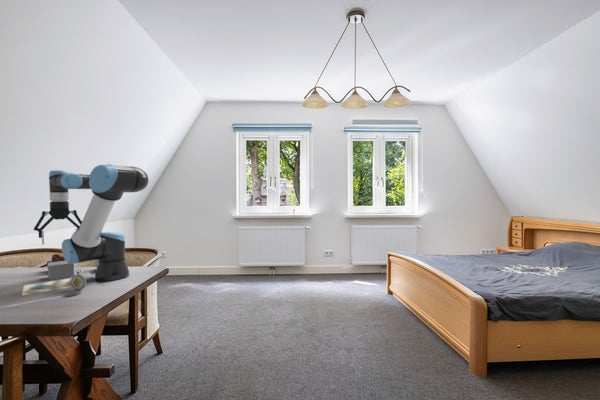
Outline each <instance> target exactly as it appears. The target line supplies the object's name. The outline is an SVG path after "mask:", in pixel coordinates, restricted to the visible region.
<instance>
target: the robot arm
mask: <svg viewBox="0 0 600 400" xmlns="http://www.w3.org/2000/svg"><path fill="white" fill-rule="evenodd" d="M48 182H49V183H48V184H49V185H48V186H49V201H50V202H49V211H45V210H42V211H41V216H40V218H39V219H38V221H37V222H36V224H35V225H34V228H33V230H34V231H35V232H36V231H37V232H38V238H39V239H41V245H45V233H44V232H45V231H44V229H45V228H46V227H47V226H48V225H49V224H50V223H51V222H52V221H54V220H58V221H59V220H65V219H66V220H68V221H69V222H70V224H72V225H73V226H74V227H75V231H74V232H73V233H72V234H71V237H70V238H67V239H63V241H62V242H61V254H62V255H63V256H64V259H65V261H66V262H67V263H69V264H74V265H75V264H82V263H87V262H92V261H96V260H98V259H99V264H98V267H97V268H96V270H95V274H94V280H95V281H97V282H108V281H110V282H111V281H118V280H121V279H125V278H128V277H129V276H130V269H129V267H128V265H127V261H126V239H125V235H124V233H123V232H122V233H121V232H108V231H107V232H106V231H105V232H102V231H103V230H104V227H105V225H106V224H107V223H106V222H107V221H108V218H109V216H110V214H111V211H112V210H113V208H114V205H115V203H116V202H117V201H119V200H121V199H122V196H123V195H124V193H138V192H141V191H144V190H145V189H146V187H147V186H148V185H149V175H148V174H147V173H146V171H145V170H143V169H142V168H139V167H137V166H130V165H129V166H127V165H114V164H99V165H96V166H95V167H94V168H92V170H91V172H90V174H82V173H80V174H78V173H73V172H71V173H70V172H68V171H66V170H60V169H59V170H50V171H49V173H48ZM69 190H91V193H93V194H92V198H91V199H90V203H89V204H88V207H87V210H86V212H85V213H84V216H83V218H82V220H81V218H80V217H79V215H78V211H77V210H76V209H74V210H70V205H69V204H70V202H69V200H70V199H69ZM70 214H72V215H73V216H74V217H75V219H76V221H77V222H78V223H76V222H75V221H74V220H73V219H72V218H70V217H69V215H70ZM48 215H50V216H51V217H50V218H49V219H47V221H45V222H44V223H43V225H41V223H42V222H43V220H44V219H45V217H47V216H48ZM78 224H79V225H78ZM40 225H41V226H40ZM39 226H40V227H39Z"/></svg>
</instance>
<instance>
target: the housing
mask: <svg viewBox="0 0 600 400" xmlns="http://www.w3.org/2000/svg"><path fill="white" fill-rule="evenodd" d="M73 276H75V264H69V263H67V262H66V260H65V261H59V262H50V263H48V267H47V278H48V281H56V280H63V279H70V278H72V277H73Z"/></svg>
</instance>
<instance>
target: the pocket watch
mask: <svg viewBox="0 0 600 400" xmlns="http://www.w3.org/2000/svg"><path fill="white" fill-rule="evenodd" d="M75 272H76V275H75V274H74V276H73V277H71V278H72V279H71V285H72V287H71V288H72V289H74V290H76V291H77V292H71V293H70V292H69V293H66V292H67V291H65V294H62V296H63V297H72V296H77V295H79V294H81V293H82V291H81V290H83V289H84V288H85V287H86V286H87V285H86V284H87V279H86V277H85V276H84V275H82V274H81V272H82V269H81V268H77V269H75ZM76 283H77V284H76ZM81 283H82V284H81ZM78 285H79V286H78Z"/></svg>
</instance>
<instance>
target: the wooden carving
mask: <svg viewBox="0 0 600 400" xmlns="http://www.w3.org/2000/svg"><path fill="white" fill-rule="evenodd" d="M59 261H66V260H65V259H64V256H63V253H55V254H52V256H51V260H47V262H46V267H47V268H48V263H50V262H59Z"/></svg>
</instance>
